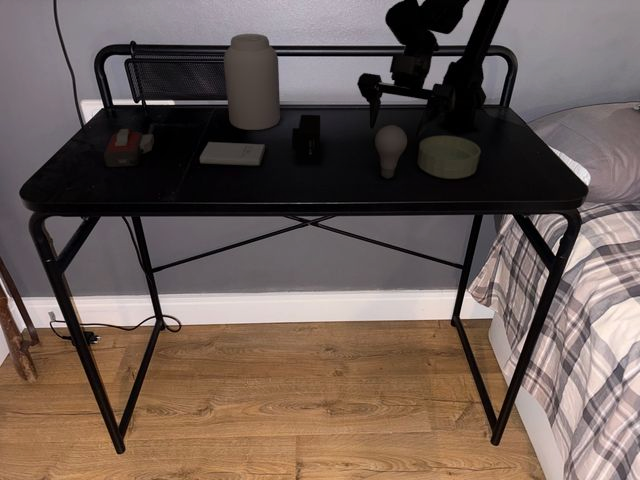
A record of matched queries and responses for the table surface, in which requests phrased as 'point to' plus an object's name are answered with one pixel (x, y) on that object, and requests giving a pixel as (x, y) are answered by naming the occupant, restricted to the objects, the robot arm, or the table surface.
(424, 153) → the bowl
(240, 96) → the wide mouth jar
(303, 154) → the digital camera
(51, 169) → the table surface
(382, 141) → the lightbulb
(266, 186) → the table surface
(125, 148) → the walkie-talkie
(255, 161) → the hard drive
